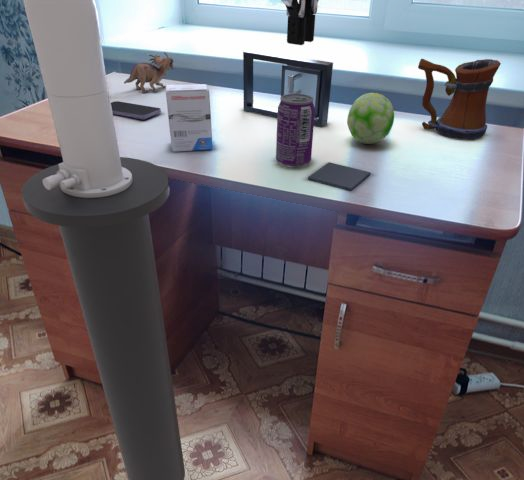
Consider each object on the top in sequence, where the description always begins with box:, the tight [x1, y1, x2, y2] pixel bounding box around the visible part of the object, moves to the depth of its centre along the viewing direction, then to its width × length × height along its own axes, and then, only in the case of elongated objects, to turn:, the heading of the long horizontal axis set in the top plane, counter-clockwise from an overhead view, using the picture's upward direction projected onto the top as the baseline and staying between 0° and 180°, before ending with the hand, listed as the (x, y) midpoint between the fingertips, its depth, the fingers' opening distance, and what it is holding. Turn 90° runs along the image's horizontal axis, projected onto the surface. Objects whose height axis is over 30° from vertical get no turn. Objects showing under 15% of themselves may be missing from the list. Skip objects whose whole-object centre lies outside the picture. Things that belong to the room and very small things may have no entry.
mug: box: [417, 58, 501, 141], centre depth 113 cm, size 18×12×15 cm, turn 77°
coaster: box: [307, 162, 372, 192], centre depth 96 cm, size 9×9×1 cm
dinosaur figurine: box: [123, 52, 175, 94], centre depth 136 cm, size 14×6×9 cm, turn 101°
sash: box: [280, 64, 322, 118], centre depth 115 cm, size 6×10×10 cm, turn 58°
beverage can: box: [275, 94, 315, 168], centre depth 98 cm, size 7×7×12 cm
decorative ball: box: [346, 92, 395, 145], centre depth 108 cm, size 10×10×10 cm
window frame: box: [242, 49, 334, 128], centre depth 119 cm, size 3×22×13 cm, turn 58°
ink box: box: [165, 83, 214, 153], centre depth 103 cm, size 8×5×12 cm, turn 100°
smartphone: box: [111, 100, 162, 121], centre depth 124 cm, size 7×1×15 cm
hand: (300, 41), depth 88 cm, fingers closed
